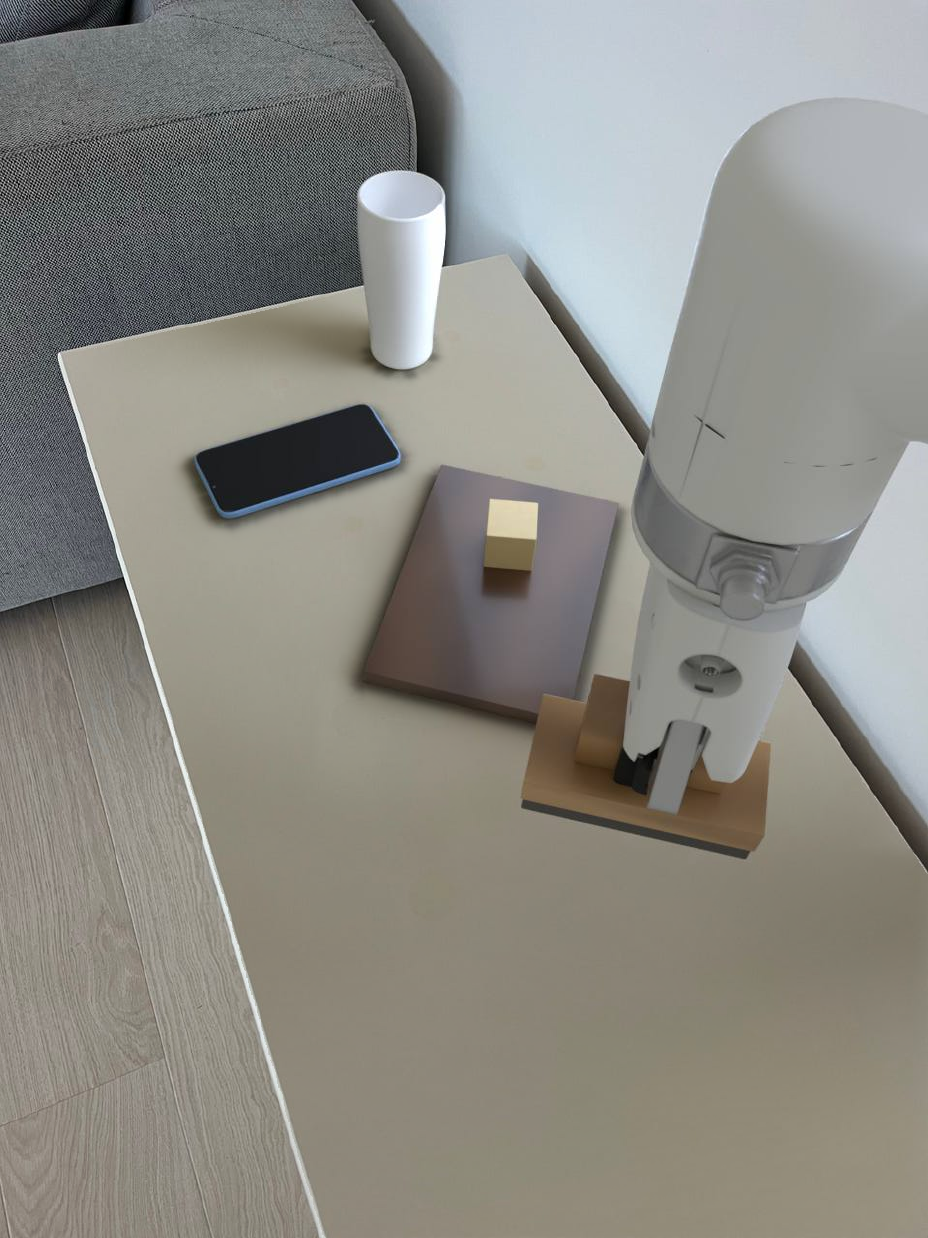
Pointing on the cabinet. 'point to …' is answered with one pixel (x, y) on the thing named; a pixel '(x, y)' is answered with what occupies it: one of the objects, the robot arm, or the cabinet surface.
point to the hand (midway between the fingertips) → (650, 759)
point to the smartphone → (296, 460)
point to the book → (493, 599)
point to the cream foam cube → (511, 534)
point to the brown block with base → (585, 790)
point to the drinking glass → (401, 263)
